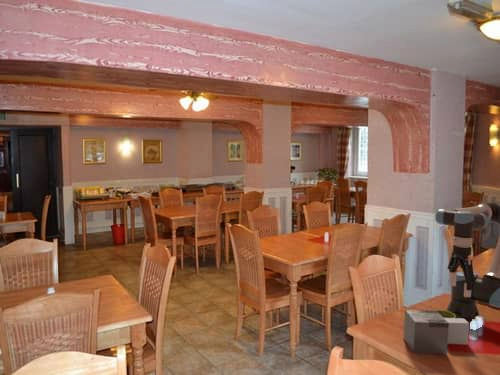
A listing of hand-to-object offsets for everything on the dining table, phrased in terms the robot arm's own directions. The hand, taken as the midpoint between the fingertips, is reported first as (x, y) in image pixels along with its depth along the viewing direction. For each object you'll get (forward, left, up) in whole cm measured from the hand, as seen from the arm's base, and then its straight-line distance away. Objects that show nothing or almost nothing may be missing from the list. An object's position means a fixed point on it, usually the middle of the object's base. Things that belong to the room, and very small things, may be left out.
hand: (459, 291), depth 184 cm
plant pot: (+2, -8, -23) cm, 25 cm away
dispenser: (+18, +8, -23) cm, 30 cm away
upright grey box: (+2, +2, -23) cm, 23 cm away
